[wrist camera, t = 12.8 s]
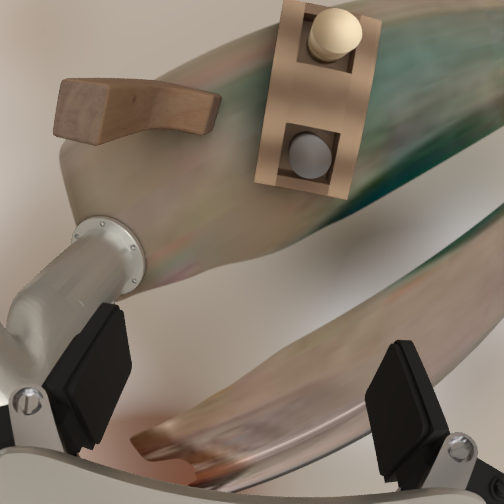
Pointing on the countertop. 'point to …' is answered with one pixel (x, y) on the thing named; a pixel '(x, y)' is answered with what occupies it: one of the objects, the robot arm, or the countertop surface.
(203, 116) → the wooden block
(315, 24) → the birch dowel
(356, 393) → the countertop surface
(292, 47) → the walnut socket block
